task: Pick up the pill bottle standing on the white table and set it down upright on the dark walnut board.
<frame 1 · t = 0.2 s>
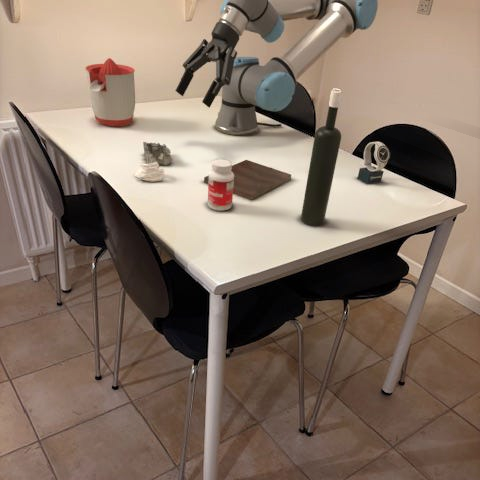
hand: (192, 99, 138), 16 cm above the table, tool tilted 35°, fingers open, 13 cm apart
pill bottle: (219, 206, 120), on the table
wine bottle: (312, 221, 118), on the table
whipped cream: (149, 178, 131), on the table
citrus juicer: (113, 123, 166), on the table
watch: (369, 180, 142), on the table
egg carton: (156, 160, 142), on the table
walnut board: (248, 181, 134), on the table
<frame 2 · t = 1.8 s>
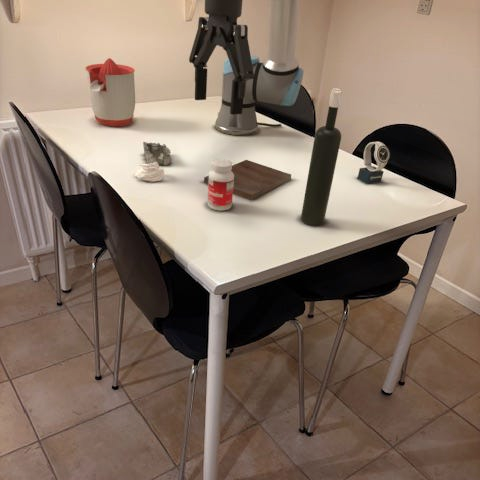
hand: (217, 106, 107), 23 cm above the table, tool pointing down, fingers open, 13 cm apart
nothing on the table moved.
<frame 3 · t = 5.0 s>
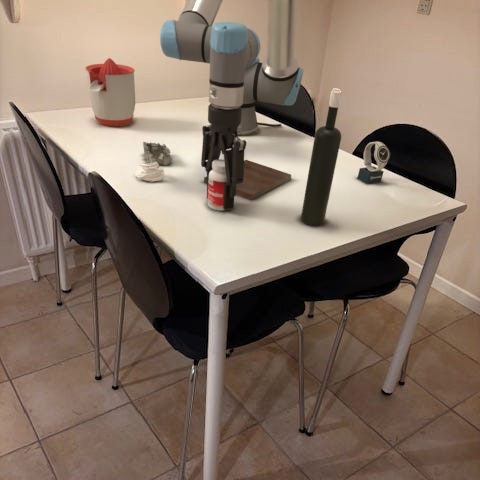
hand: (219, 202, 119), 1 cm above the table, tool pointing down, fingers closed on pill bottle, 6 cm apart
pill bottle: (219, 206, 120), on the table, touching gripper
everything else where it was.
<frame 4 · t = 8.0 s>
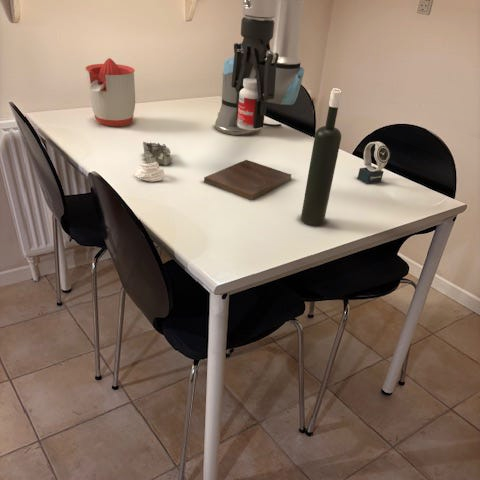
hand: (249, 123, 122), 16 cm above the table, tool pointing down, fingers closed on pill bottle, 6 cm apart
pill bottle: (249, 127, 123), point 15 cm above the table, touching gripper
everything else where it was.
when the fingers open (2 cm above the table, at t = 11.1 s): pill bottle stays where it is, resting on walnut board.
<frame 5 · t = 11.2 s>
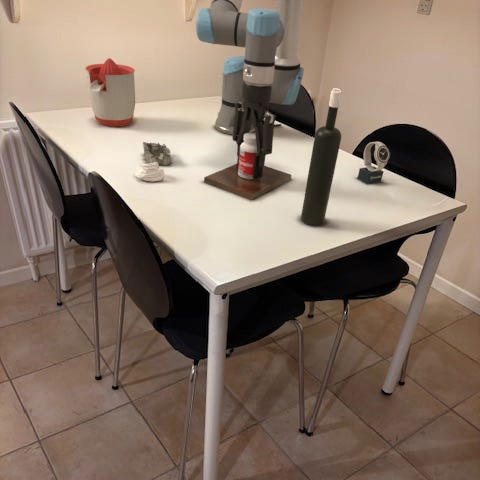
hand: (249, 173, 133), 2 cm above the table, tool pointing down, fingers open, 6 cm apart
pill bottle: (248, 176, 133), point 1 cm above the table, touching walnut board
everything else where it was.
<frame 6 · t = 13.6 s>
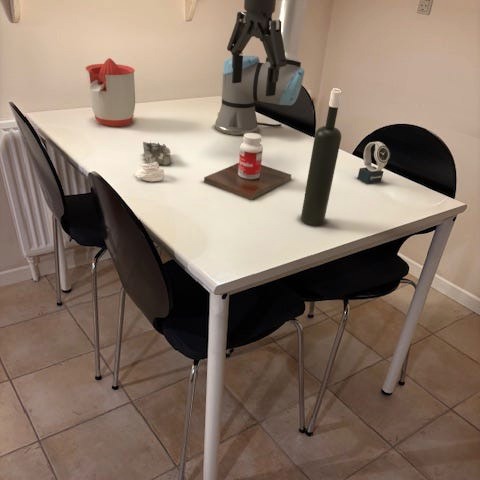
hand: (252, 89, 126), 22 cm above the table, tool pointing down, fingers open, 13 cm apart
nothing on the table moved.
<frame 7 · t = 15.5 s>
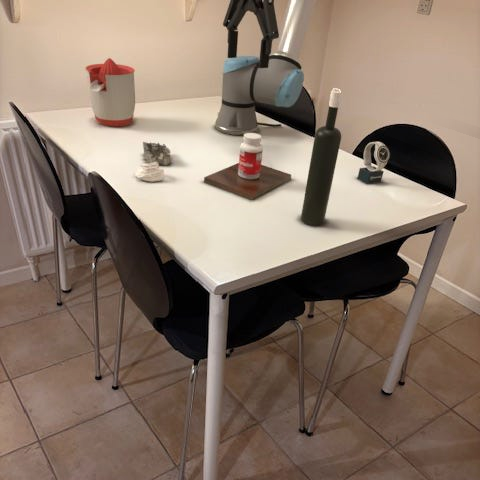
hand: (247, 62, 131), 27 cm above the table, tool pointing down, fingers open, 13 cm apart
nothing on the table moved.
at the end: pill bottle inside the target area on the walnut board (0.0 cm from its centre), point 1.3 cm above the walnut board's base; pill bottle tilted 0°; the gripper is holding nothing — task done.
